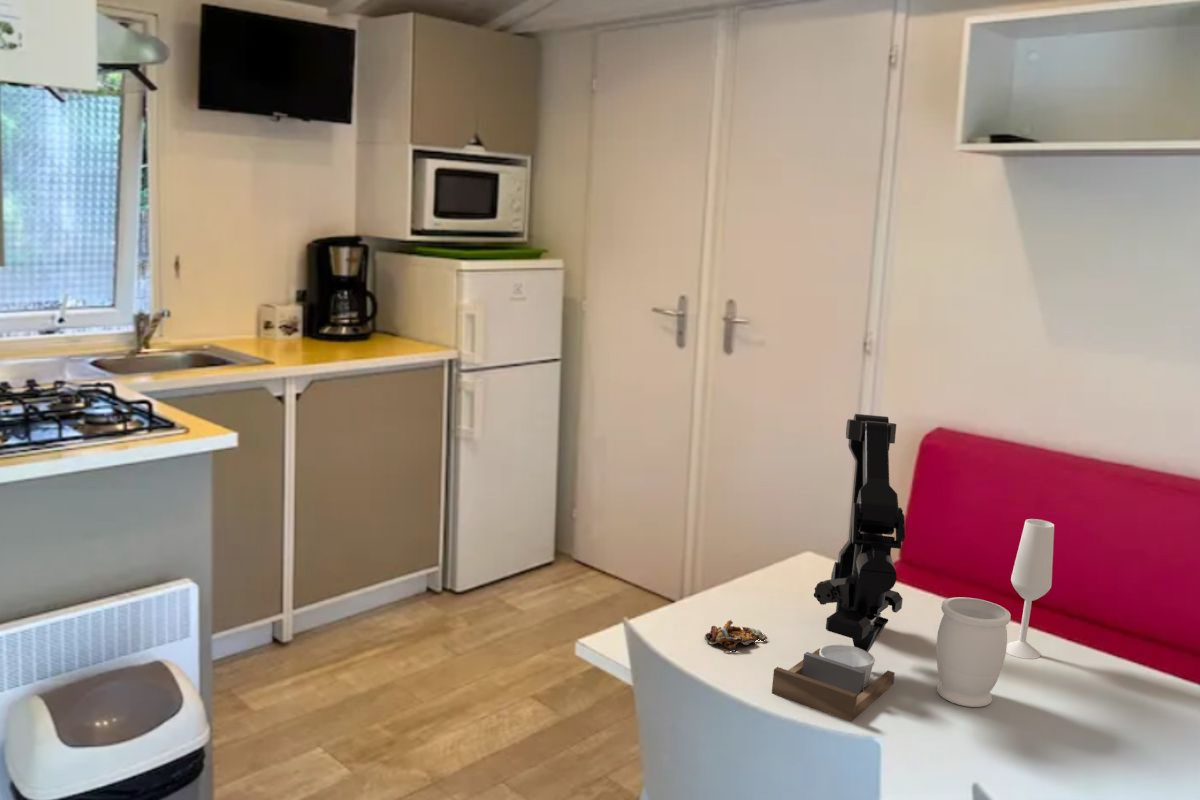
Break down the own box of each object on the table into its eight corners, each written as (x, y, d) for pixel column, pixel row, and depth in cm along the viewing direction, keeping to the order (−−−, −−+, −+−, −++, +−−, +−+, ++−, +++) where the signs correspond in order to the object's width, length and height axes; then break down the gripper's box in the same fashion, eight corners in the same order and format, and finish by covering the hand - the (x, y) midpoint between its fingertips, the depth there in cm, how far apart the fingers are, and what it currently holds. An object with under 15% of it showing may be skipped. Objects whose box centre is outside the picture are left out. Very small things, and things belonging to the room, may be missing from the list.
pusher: (805, 676, 171) (808, 651, 170) (863, 696, 165) (866, 670, 164) (801, 679, 170) (803, 654, 169) (859, 700, 164) (862, 673, 163)
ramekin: (812, 666, 176) (815, 641, 175) (865, 669, 176) (867, 645, 175) (822, 690, 167) (825, 664, 166) (877, 693, 167) (880, 668, 166)
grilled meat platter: (773, 642, 186) (774, 623, 185) (727, 657, 178) (729, 637, 178) (744, 628, 191) (745, 610, 190) (698, 642, 183) (700, 623, 183)
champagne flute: (1021, 660, 184) (1040, 530, 179) (992, 645, 190) (1010, 518, 185) (1049, 656, 186) (1069, 527, 182) (1020, 641, 192) (1039, 516, 188)
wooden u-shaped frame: (818, 659, 179) (820, 637, 178) (893, 683, 171) (896, 661, 170) (771, 692, 165) (773, 669, 164) (851, 721, 157) (854, 696, 157)
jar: (964, 716, 161) (977, 625, 159) (916, 687, 170) (927, 600, 168) (1012, 705, 166) (1026, 616, 164) (963, 677, 175) (975, 593, 173)
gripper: (847, 546, 185) (838, 629, 188) (800, 573, 170) (792, 662, 173) (908, 562, 179) (897, 647, 182) (865, 591, 164) (855, 683, 167)
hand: (860, 659), depth 176 cm, fingers closed
